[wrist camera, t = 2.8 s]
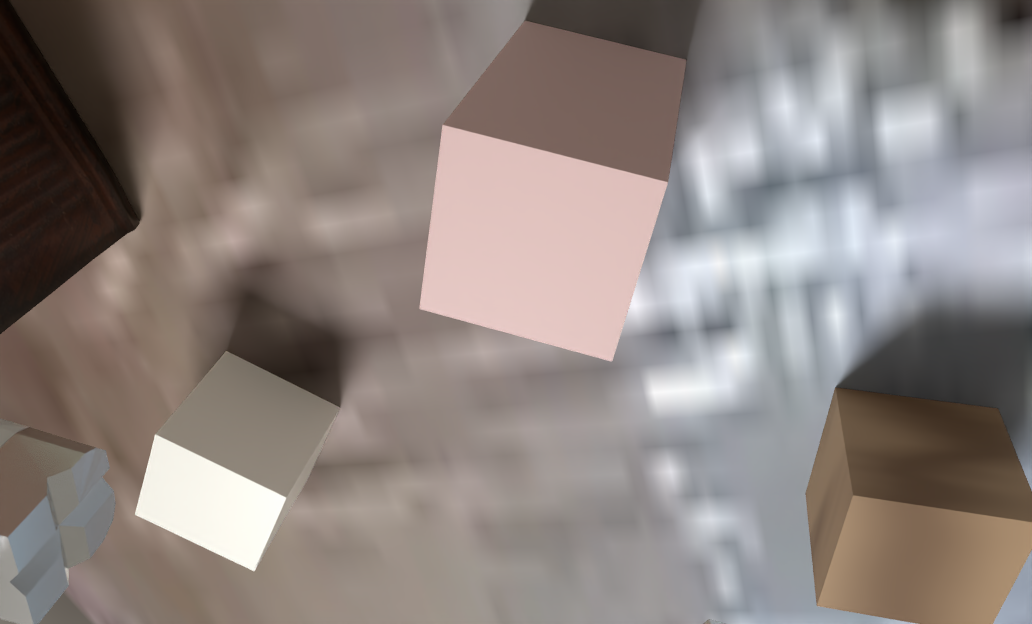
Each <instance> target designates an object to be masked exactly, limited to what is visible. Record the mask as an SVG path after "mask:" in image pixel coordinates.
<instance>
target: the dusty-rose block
mask: <svg viewBox="0 0 1032 624" xmlns="http://www.w3.org/2000/svg"><path fill="white" fill-rule="evenodd" d="M686 61H687V60H685V59H681V58H677V57H673V56H669V55H665V54H661V53H657V52H653V51H648V50H644V49H640V48H636V47H632V46H628V45H624V44H620V43H615V42H611V41H607V40H603V39H599V38H595V37H591V36H587V35H583V34H578V33H574V32H570V31H566V30H562V29H558V28H554V27H550V26H545V25H541V24H537V23H533V22H529V21H524V22H523V24H522V25H521V26H520V27H519V29H518V30H517V31H516V32H515V34H514V35H513V36H512V38H511V39H510V40H509V41H508V43H507V44H506V45H505V46H504V48H503V49H502V50H501V51H500V53H499V54H498V55H497V57H496V58H495V59H494V60H493V62H492V63H491V64H490V65H489V67H488V68H487V69H486V71H485V72H484V73H483V74H482V76H481V77H480V78H479V79H478V81H477V82H476V83H475V85H474V86H473V87H472V88H471V90H470V91H469V92H468V93H467V95H466V96H465V97H464V98H463V100H462V101H461V102H460V104H459V105H458V106H457V107H456V109H455V110H454V111H453V112H452V114H451V115H450V116H449V118H448V119H447V120H446V121H445V123H444V124H443V127H442V135H441V143H440V151H439V159H438V166H437V174H436V182H435V190H434V198H433V206H432V214H431V222H430V230H429V238H428V245H427V253H426V261H425V269H424V277H423V285H422V293H421V301H420V309H422V310H426V311H429V312H433V313H437V314H440V315H444V316H448V317H451V318H455V319H459V320H462V321H466V322H470V323H473V324H477V325H481V326H484V327H488V328H491V329H495V330H499V331H502V332H506V333H510V334H513V335H517V336H521V337H524V338H528V339H532V340H535V341H539V342H543V343H546V344H550V345H554V346H557V347H561V348H564V349H568V350H572V351H575V352H579V353H583V354H586V355H590V356H594V357H597V358H601V359H605V360H608V361H612V360H613V357H614V354H615V350H616V347H617V344H618V341H619V338H620V334H621V331H622V328H623V325H624V322H625V318H626V315H627V312H628V309H629V306H630V302H631V299H632V296H633V293H634V290H635V286H636V283H637V280H638V277H639V274H640V270H641V267H642V264H643V261H644V258H645V254H646V251H647V248H648V245H649V242H650V238H651V235H652V232H653V229H654V226H655V222H656V219H657V216H658V213H659V210H660V206H661V203H662V200H663V197H664V194H665V190H666V187H667V184H668V179H669V173H670V166H671V160H672V153H673V146H674V140H675V133H676V127H677V120H678V113H679V107H680V100H681V94H682V87H683V81H684V74H685V67H686Z"/></svg>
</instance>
